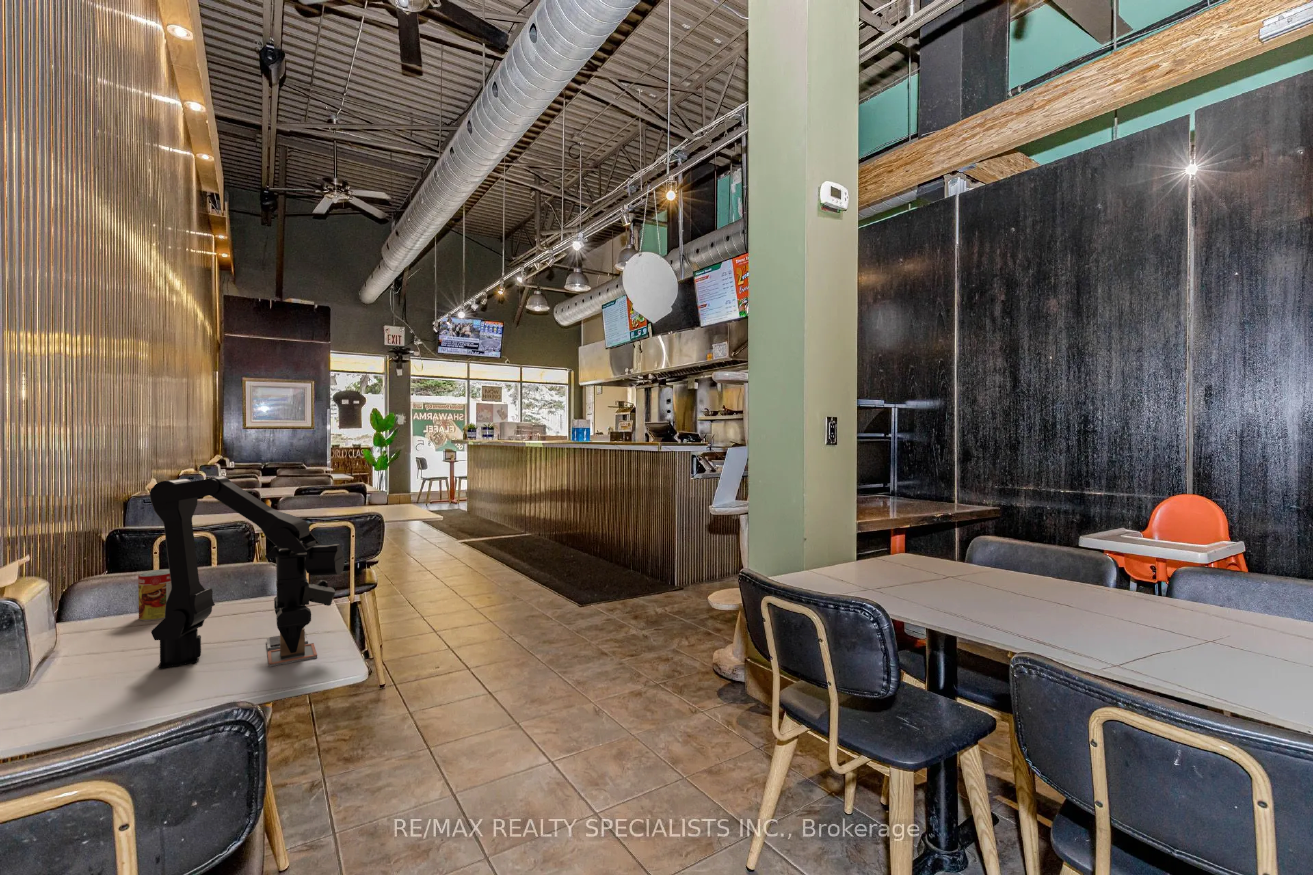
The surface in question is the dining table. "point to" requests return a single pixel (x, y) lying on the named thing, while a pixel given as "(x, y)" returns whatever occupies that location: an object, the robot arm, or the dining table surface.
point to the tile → (276, 659)
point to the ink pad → (277, 642)
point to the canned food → (153, 593)
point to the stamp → (300, 649)
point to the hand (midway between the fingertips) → (292, 646)
